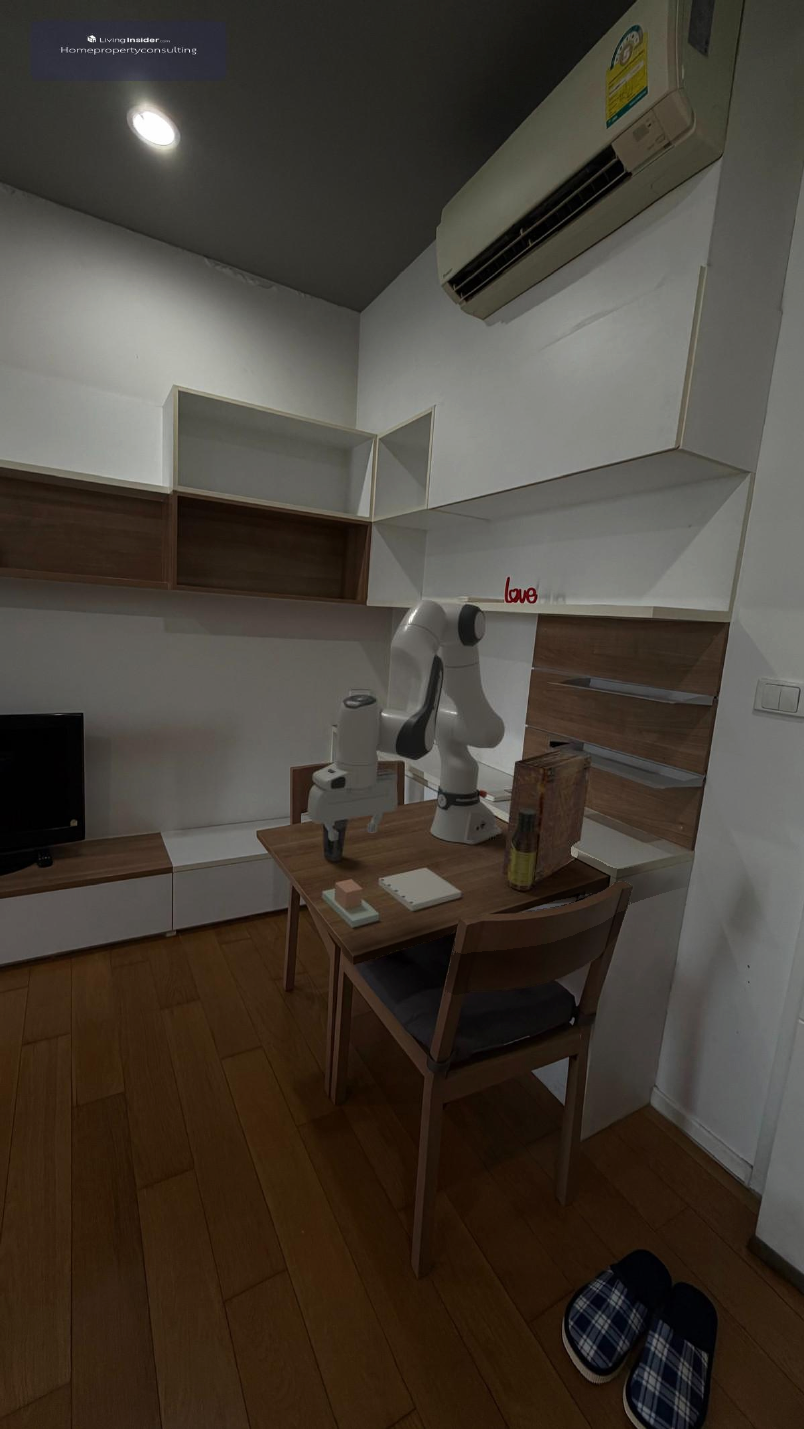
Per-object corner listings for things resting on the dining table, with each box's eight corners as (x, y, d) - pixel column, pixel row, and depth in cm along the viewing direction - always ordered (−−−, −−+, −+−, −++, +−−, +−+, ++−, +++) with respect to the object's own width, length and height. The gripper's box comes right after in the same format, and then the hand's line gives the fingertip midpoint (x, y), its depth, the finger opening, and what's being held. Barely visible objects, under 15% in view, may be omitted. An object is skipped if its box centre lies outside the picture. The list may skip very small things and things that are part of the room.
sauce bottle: (514, 877, 147) (522, 803, 143) (536, 886, 143) (546, 810, 139) (501, 886, 142) (510, 809, 138) (524, 895, 138) (533, 816, 134)
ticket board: (425, 873, 146) (425, 867, 145) (460, 897, 134) (461, 891, 134) (378, 884, 138) (378, 878, 137) (411, 911, 126) (412, 904, 126)
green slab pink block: (346, 891, 133) (348, 869, 132) (378, 920, 122) (380, 896, 121) (321, 897, 129) (323, 874, 128) (352, 927, 118) (353, 903, 117)
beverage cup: (313, 858, 149) (316, 785, 146) (329, 849, 155) (333, 778, 152) (336, 866, 146) (340, 790, 142) (352, 856, 152) (356, 784, 149)
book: (548, 848, 168) (561, 748, 163) (578, 858, 162) (592, 755, 157) (502, 872, 149) (514, 761, 144) (533, 885, 143) (547, 770, 138)
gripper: (389, 764, 128) (385, 822, 131) (305, 774, 117) (303, 838, 119) (405, 772, 123) (401, 832, 126) (319, 783, 112) (316, 850, 114)
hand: (352, 835), depth 122 cm, fingers open, 8 cm apart
